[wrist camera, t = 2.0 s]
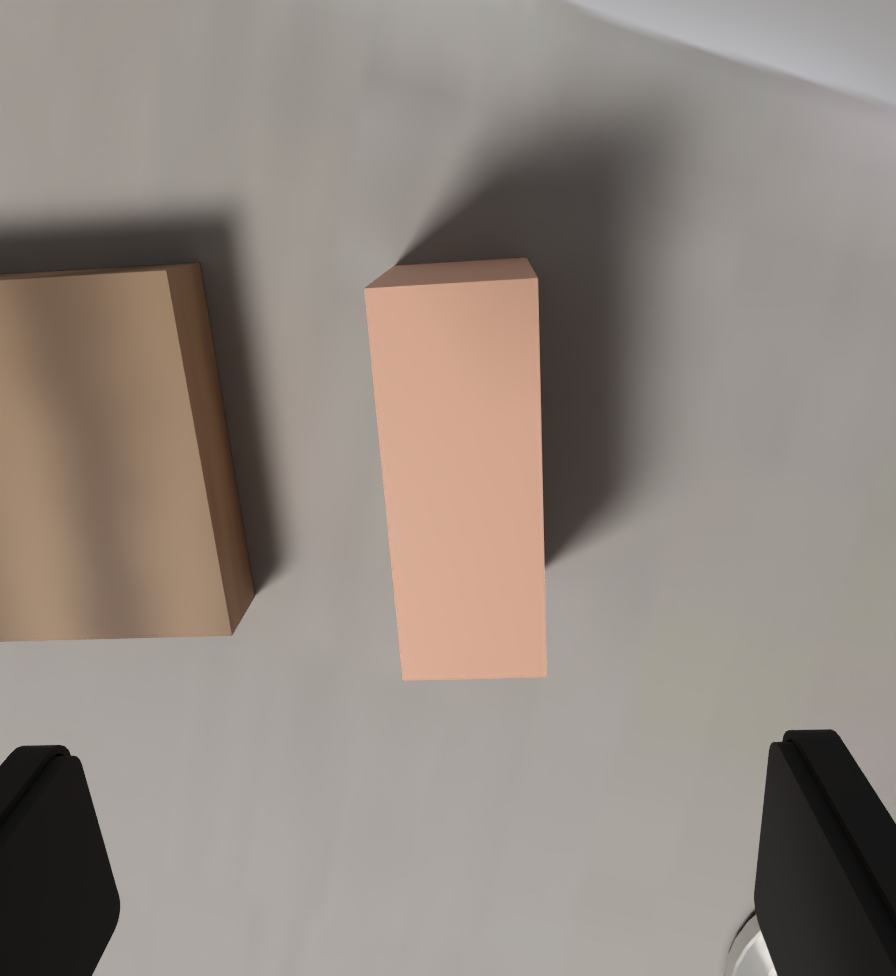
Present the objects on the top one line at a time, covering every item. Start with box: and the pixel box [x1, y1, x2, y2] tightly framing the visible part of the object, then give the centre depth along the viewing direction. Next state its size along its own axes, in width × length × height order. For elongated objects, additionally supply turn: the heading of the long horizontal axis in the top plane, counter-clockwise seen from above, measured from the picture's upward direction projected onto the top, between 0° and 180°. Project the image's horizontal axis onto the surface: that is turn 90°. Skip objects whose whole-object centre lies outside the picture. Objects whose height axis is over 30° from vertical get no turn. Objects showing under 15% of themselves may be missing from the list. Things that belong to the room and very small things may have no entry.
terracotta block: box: [364, 258, 547, 680], centre depth 26 cm, size 4×12×7 cm, turn 4°
